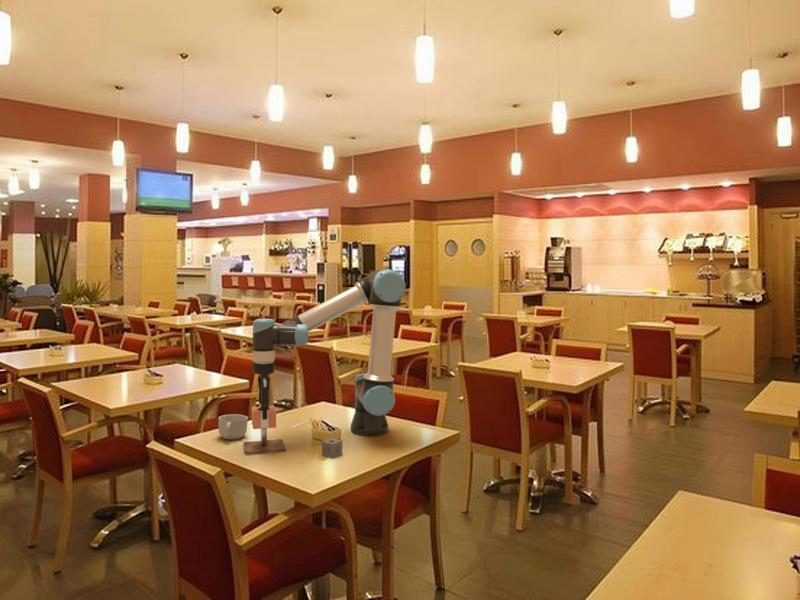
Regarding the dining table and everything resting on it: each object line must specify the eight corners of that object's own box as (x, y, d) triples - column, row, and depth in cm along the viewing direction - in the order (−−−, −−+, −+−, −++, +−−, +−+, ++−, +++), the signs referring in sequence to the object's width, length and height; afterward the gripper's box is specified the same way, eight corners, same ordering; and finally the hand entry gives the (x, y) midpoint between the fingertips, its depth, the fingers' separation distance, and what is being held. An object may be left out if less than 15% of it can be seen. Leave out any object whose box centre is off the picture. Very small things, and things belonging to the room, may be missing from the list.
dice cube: (321, 455, 203) (321, 441, 203) (331, 451, 207) (331, 438, 207) (332, 458, 200) (332, 444, 200) (342, 454, 204) (342, 440, 204)
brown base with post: (282, 441, 218) (282, 415, 218) (285, 451, 207) (285, 423, 206) (243, 444, 214) (243, 417, 213) (244, 454, 203) (244, 426, 202)
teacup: (226, 432, 229) (225, 412, 229) (252, 434, 228) (252, 413, 227) (209, 443, 215) (209, 422, 215) (237, 445, 214) (237, 423, 213)
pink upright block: (274, 421, 215) (274, 405, 215) (276, 427, 207) (276, 410, 207) (251, 423, 213) (251, 407, 212) (253, 429, 205) (253, 412, 205)
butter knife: (287, 427, 237) (293, 427, 236) (322, 412, 262) (328, 413, 261) (287, 428, 237) (293, 428, 236) (322, 414, 262) (328, 414, 261)
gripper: (251, 357, 217) (251, 418, 219) (254, 367, 197) (254, 433, 199) (271, 357, 220) (271, 416, 221) (277, 366, 200) (276, 431, 201)
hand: (263, 424), depth 210 cm, fingers closed on pink upright block, 8 cm apart
